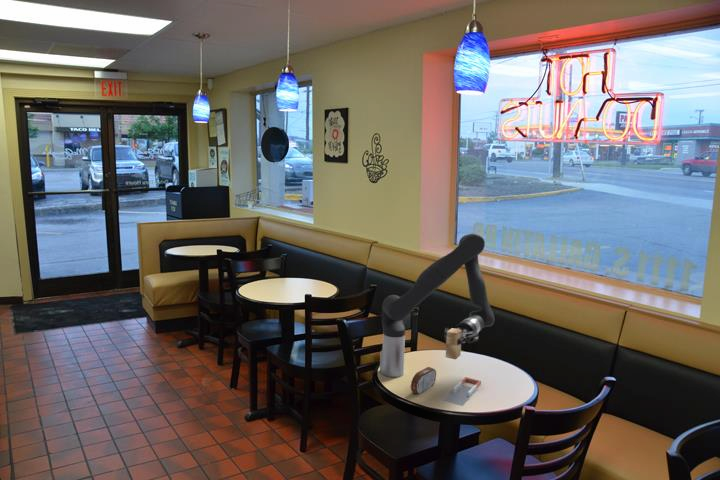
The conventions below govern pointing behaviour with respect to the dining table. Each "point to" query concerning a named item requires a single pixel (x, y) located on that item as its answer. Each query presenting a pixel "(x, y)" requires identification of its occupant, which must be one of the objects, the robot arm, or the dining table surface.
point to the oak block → (453, 343)
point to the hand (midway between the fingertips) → (452, 341)
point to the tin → (423, 380)
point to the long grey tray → (462, 392)
